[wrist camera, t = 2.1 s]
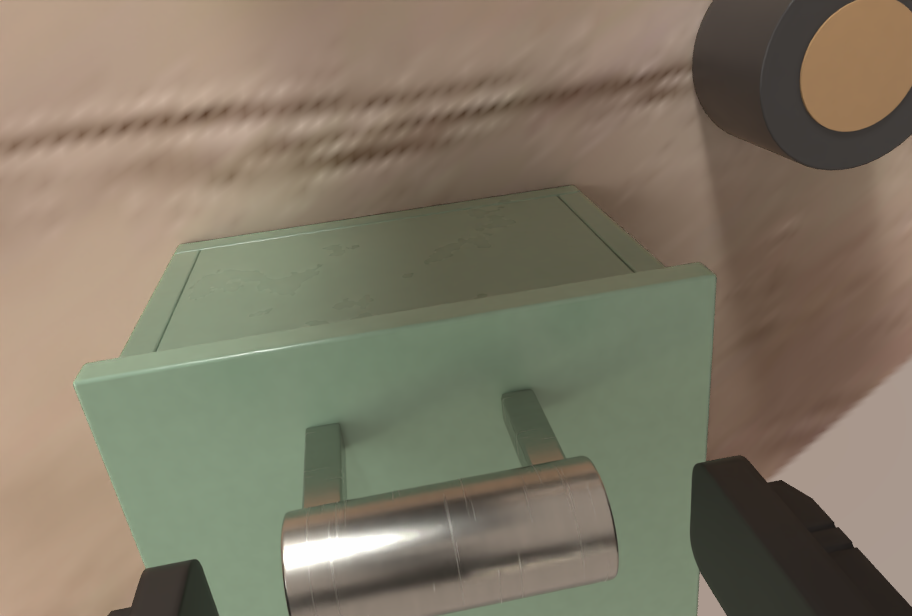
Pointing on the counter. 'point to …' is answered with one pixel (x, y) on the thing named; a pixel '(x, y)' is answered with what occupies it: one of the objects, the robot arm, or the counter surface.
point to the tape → (809, 76)
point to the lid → (428, 455)
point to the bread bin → (382, 266)
